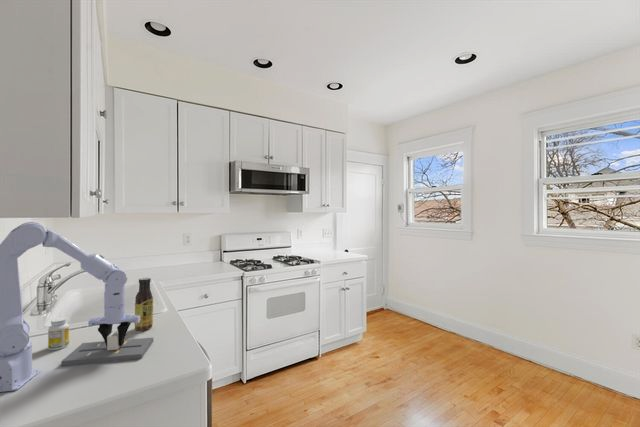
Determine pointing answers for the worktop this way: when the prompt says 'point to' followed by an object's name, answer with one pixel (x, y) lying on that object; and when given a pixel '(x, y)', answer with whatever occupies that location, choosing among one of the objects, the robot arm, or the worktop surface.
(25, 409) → the worktop surface
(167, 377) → the worktop surface
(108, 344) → the fader cap
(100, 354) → the fader console
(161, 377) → the worktop surface
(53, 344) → the supplement bottle
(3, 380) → the robot arm
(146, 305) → the sauce bottle
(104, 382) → the worktop surface
